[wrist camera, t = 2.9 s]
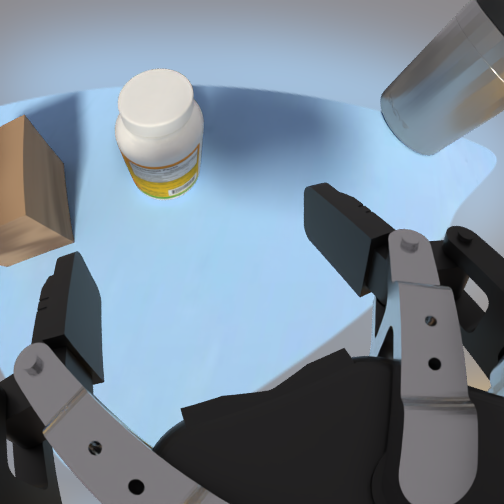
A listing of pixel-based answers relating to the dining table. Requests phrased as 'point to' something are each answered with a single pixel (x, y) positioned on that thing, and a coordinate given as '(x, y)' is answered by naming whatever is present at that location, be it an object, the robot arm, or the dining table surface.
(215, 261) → the dining table surface
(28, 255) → the walnut block
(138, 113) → the supplement bottle
